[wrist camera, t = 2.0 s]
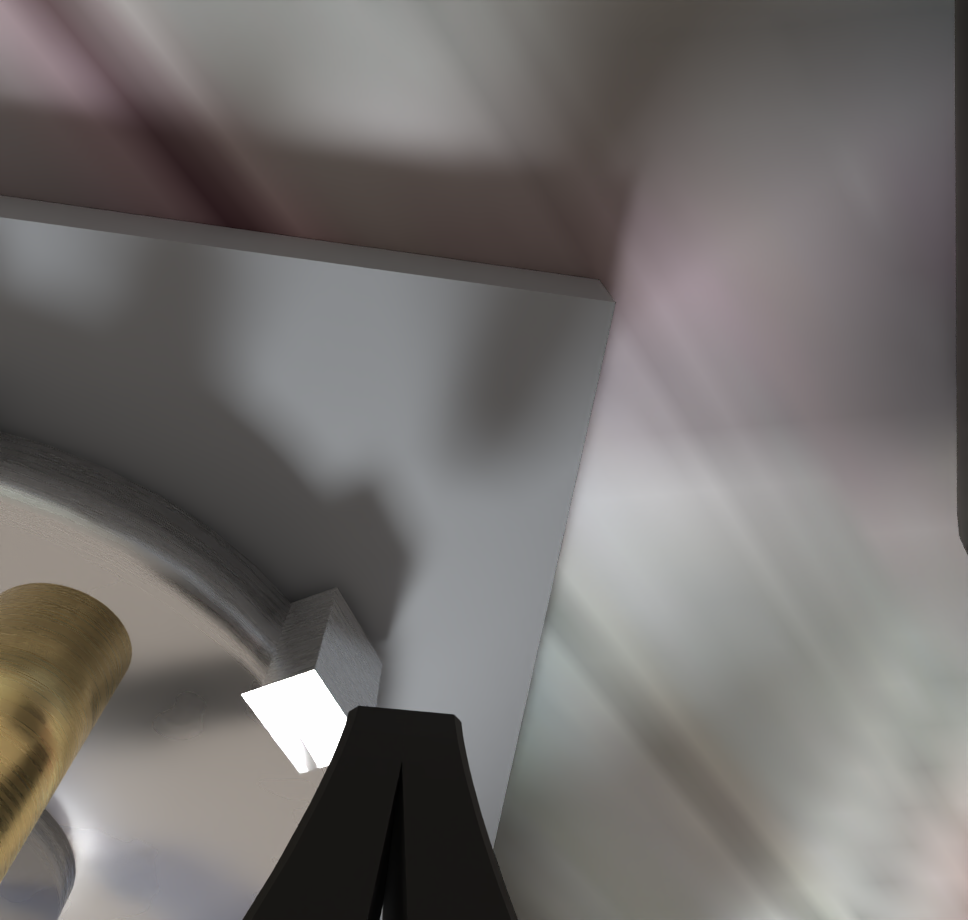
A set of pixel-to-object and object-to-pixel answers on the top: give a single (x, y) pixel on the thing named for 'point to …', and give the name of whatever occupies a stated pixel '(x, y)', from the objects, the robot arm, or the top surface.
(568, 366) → the base plate
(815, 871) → the top surface
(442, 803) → the robot arm
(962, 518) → the electric motor
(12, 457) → the lugged metal disc
